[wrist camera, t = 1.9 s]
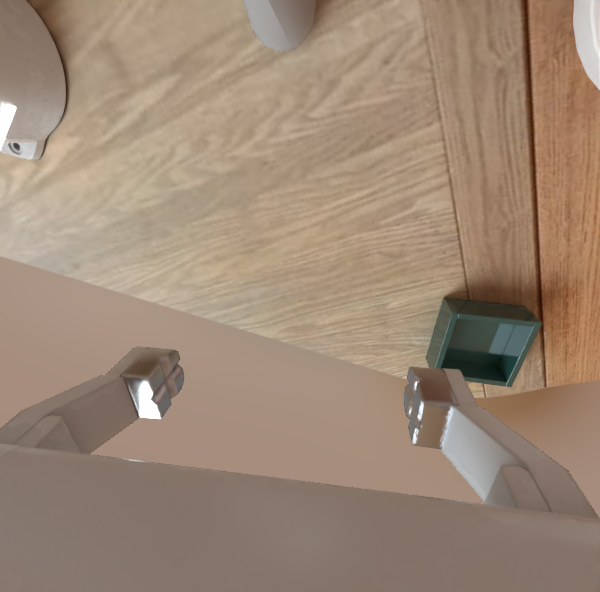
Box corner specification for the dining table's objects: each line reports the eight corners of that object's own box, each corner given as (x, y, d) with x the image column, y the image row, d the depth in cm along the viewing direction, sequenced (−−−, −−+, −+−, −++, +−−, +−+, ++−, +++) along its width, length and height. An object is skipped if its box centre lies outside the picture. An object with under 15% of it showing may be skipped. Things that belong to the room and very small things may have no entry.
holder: (425, 358, 42) (432, 376, 39) (443, 297, 38) (452, 312, 34) (498, 367, 41) (511, 387, 38) (525, 306, 37) (542, 322, 33)
